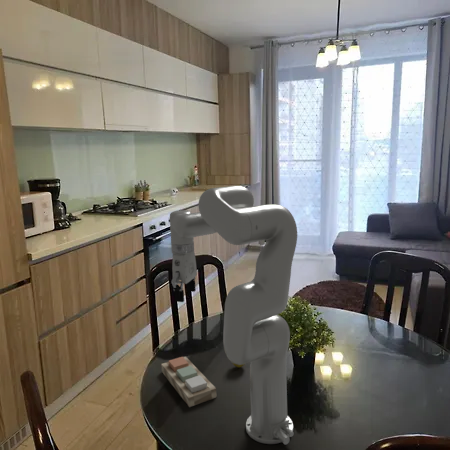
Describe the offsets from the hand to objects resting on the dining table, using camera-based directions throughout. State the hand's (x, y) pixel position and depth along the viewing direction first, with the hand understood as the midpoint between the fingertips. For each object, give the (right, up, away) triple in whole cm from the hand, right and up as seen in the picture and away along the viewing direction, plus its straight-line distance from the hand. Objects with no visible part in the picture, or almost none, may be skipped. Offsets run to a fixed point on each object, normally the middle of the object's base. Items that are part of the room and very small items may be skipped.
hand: (185, 296), depth 141 cm
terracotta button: (-2, -24, -2) cm, 24 cm away
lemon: (+18, -25, 0) cm, 31 cm away
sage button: (+1, -25, -8) cm, 26 cm away
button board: (+1, -27, -8) cm, 28 cm away
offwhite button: (+5, -26, -14) cm, 30 cm away
